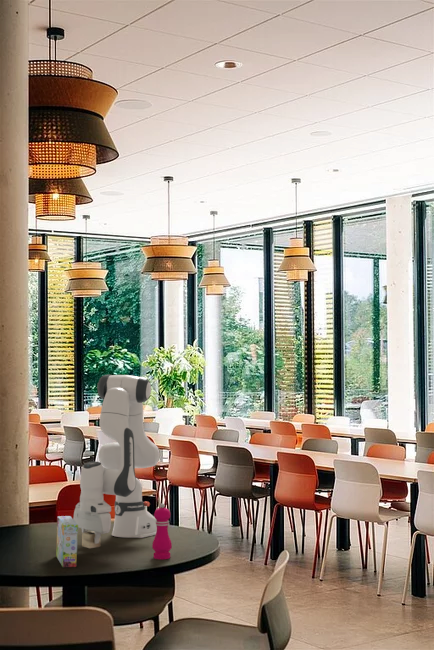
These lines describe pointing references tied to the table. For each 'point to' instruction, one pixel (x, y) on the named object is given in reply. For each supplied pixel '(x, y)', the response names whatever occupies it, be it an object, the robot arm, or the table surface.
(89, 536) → the letter cube
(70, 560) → the snack box
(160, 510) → the pepper mill
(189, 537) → the table surface
